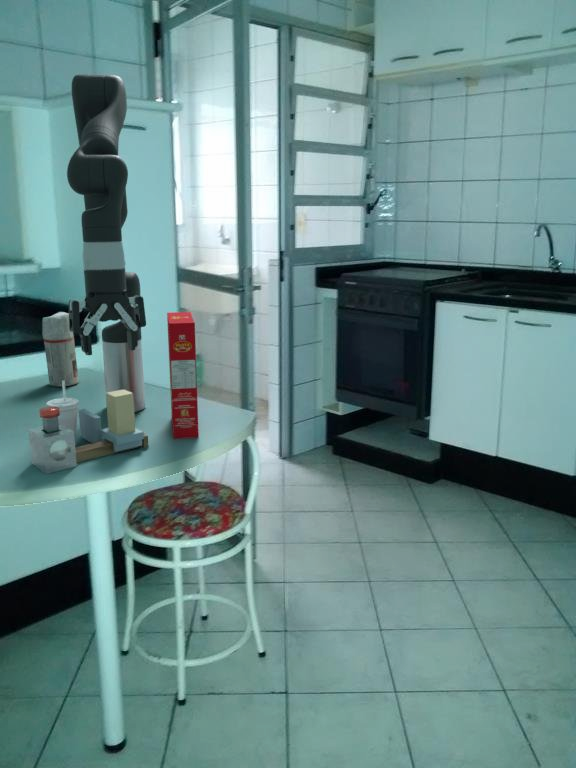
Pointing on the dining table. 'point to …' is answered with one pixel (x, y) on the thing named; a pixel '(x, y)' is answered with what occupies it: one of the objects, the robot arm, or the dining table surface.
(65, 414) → the smoothie
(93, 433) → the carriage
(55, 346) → the spray can
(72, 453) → the gauge cabinet
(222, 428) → the dining table surface
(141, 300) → the robot arm
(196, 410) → the food packaging
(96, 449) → the rail
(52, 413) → the gauge button
